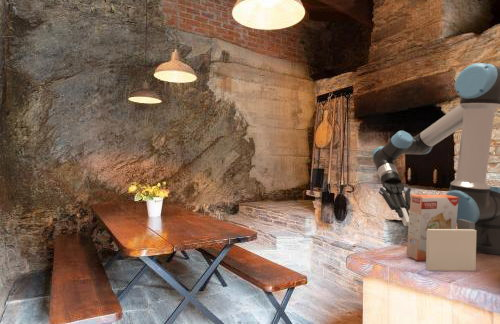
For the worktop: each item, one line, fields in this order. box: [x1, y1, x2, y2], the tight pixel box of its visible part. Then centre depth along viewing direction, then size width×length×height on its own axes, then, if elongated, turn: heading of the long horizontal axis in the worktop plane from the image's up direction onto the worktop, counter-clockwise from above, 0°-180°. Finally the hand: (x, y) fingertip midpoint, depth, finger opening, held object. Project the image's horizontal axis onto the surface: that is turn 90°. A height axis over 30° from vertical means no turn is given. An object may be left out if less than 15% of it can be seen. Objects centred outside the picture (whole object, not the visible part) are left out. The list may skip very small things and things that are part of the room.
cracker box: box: [406, 193, 459, 262], centre depth 112 cm, size 14×6×21 cm, turn 103°
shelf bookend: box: [425, 219, 477, 272], centre depth 104 cm, size 14×8×14 cm, turn 91°
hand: (407, 224), depth 128 cm, fingers closed
